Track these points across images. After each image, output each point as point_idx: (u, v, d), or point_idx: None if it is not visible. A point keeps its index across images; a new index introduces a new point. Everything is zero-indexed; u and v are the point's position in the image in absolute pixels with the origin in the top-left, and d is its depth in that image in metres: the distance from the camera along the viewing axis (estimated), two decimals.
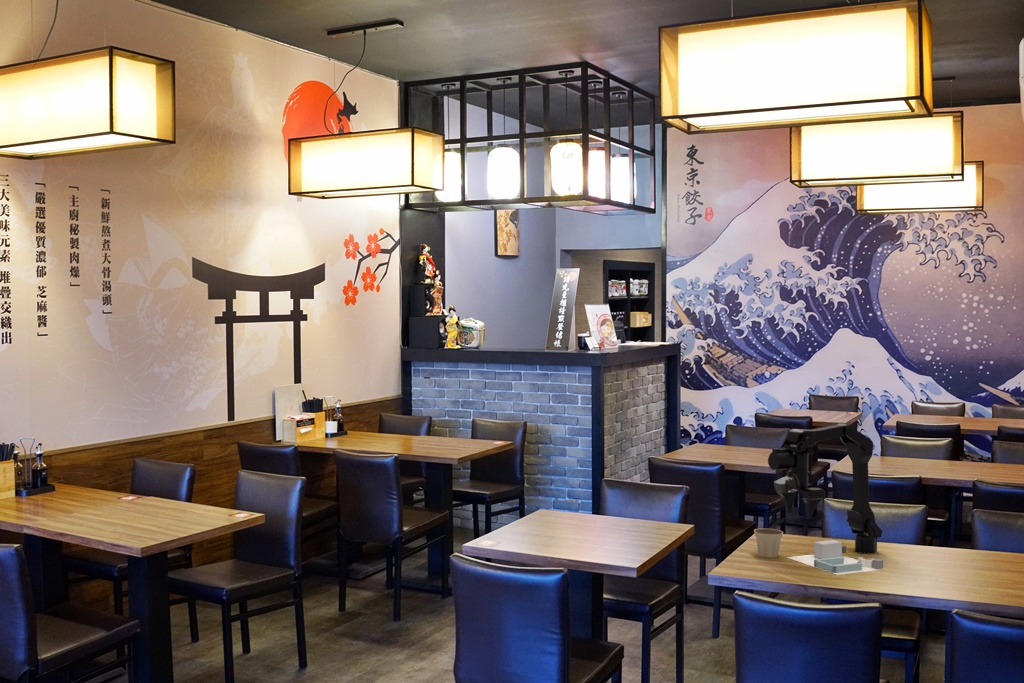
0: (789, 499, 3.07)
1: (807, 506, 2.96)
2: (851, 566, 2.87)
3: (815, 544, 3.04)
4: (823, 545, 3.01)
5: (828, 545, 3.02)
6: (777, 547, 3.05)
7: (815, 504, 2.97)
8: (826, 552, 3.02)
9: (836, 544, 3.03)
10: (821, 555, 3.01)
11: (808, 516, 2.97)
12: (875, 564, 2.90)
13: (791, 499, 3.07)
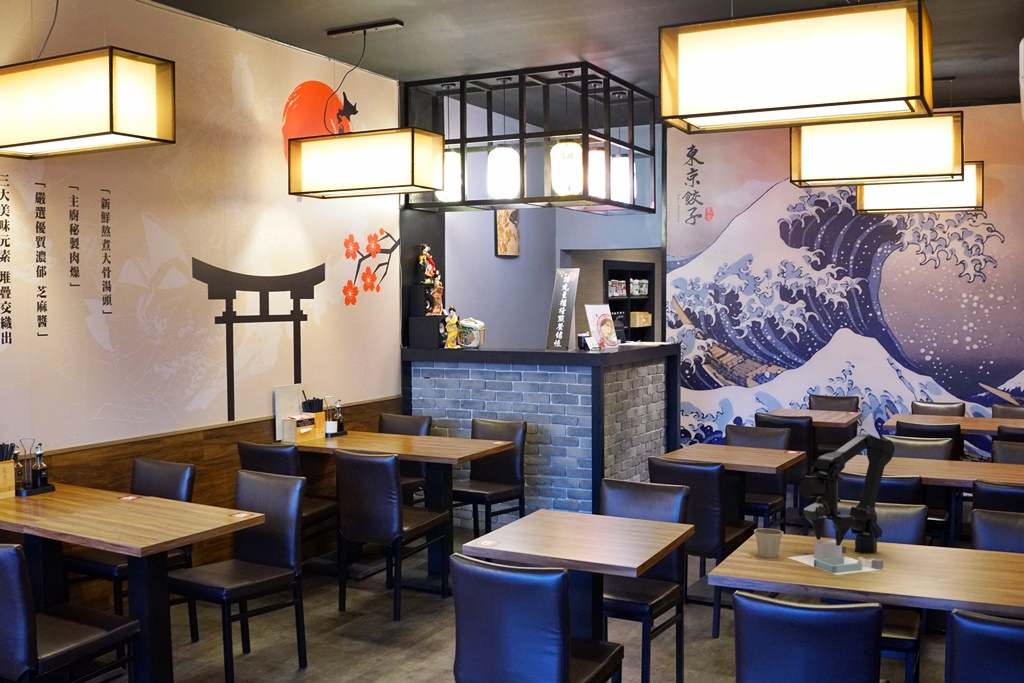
0: (818, 525, 3.09)
1: (837, 533, 2.99)
2: (851, 566, 2.87)
3: (815, 544, 3.04)
4: (823, 545, 3.01)
5: (828, 545, 3.02)
6: (777, 547, 3.05)
7: (845, 531, 2.99)
8: (826, 552, 3.02)
9: None
10: (821, 555, 3.01)
11: (838, 543, 3.00)
12: (875, 564, 2.90)
13: (820, 525, 3.09)
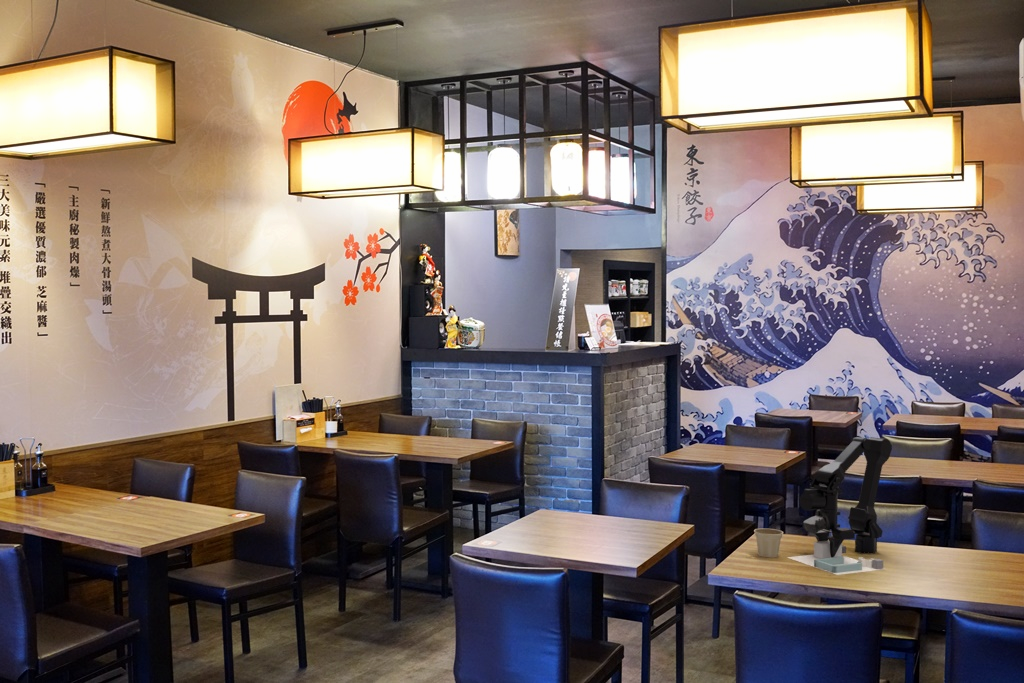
0: (823, 540, 3.07)
1: (831, 544, 3.01)
2: (851, 566, 2.87)
3: (815, 544, 3.04)
4: (823, 545, 3.01)
5: (828, 545, 3.02)
6: (777, 547, 3.05)
7: (839, 542, 3.01)
8: (826, 552, 3.02)
9: None
10: (821, 555, 3.01)
11: (832, 554, 3.02)
12: (875, 564, 2.90)
13: (825, 539, 3.07)
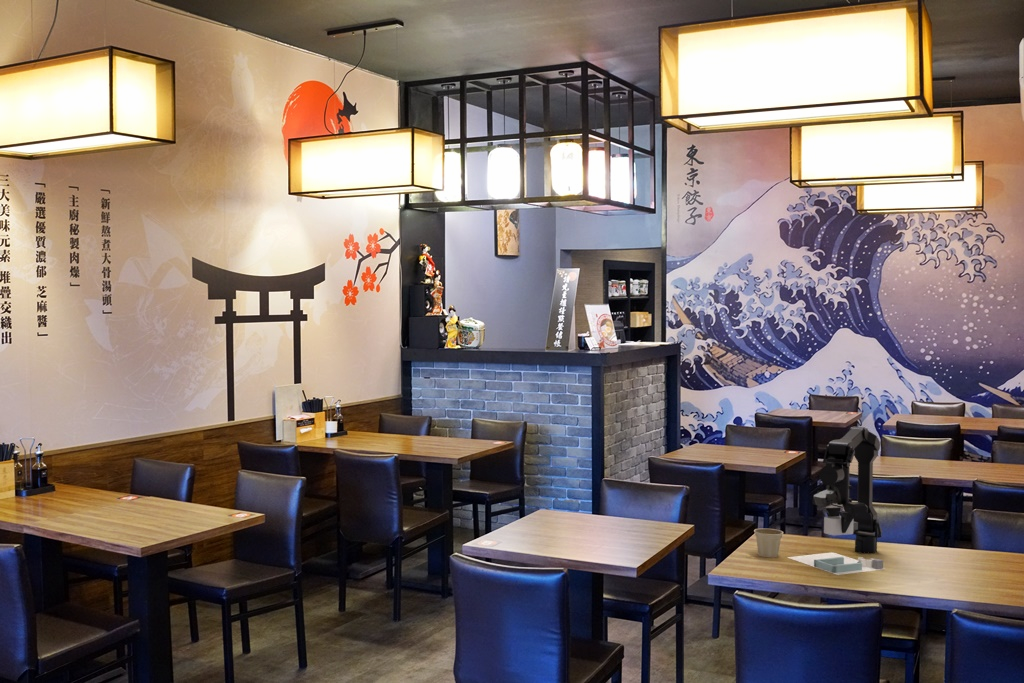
0: (834, 515, 2.94)
1: (843, 520, 2.88)
2: (851, 566, 2.87)
3: (825, 519, 2.91)
4: (834, 520, 2.88)
5: (839, 520, 2.89)
6: (777, 547, 3.05)
7: (851, 518, 2.89)
8: (837, 527, 2.89)
9: None
10: (832, 530, 2.88)
11: (844, 530, 2.89)
12: (875, 564, 2.90)
13: (836, 515, 2.94)
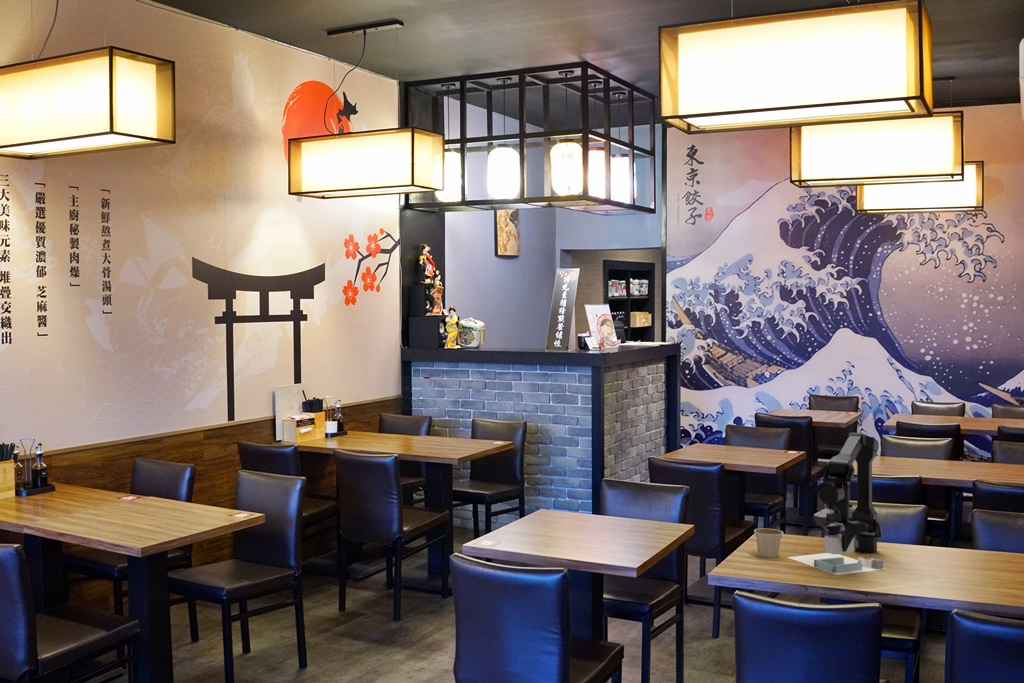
0: (834, 533, 2.94)
1: (843, 538, 2.87)
2: (851, 566, 2.87)
3: (826, 538, 2.91)
4: (834, 539, 2.88)
5: (839, 539, 2.89)
6: (777, 547, 3.05)
7: (851, 536, 2.88)
8: (838, 546, 2.88)
9: None
10: (832, 549, 2.88)
11: (844, 549, 2.89)
12: (875, 564, 2.90)
13: (836, 533, 2.94)
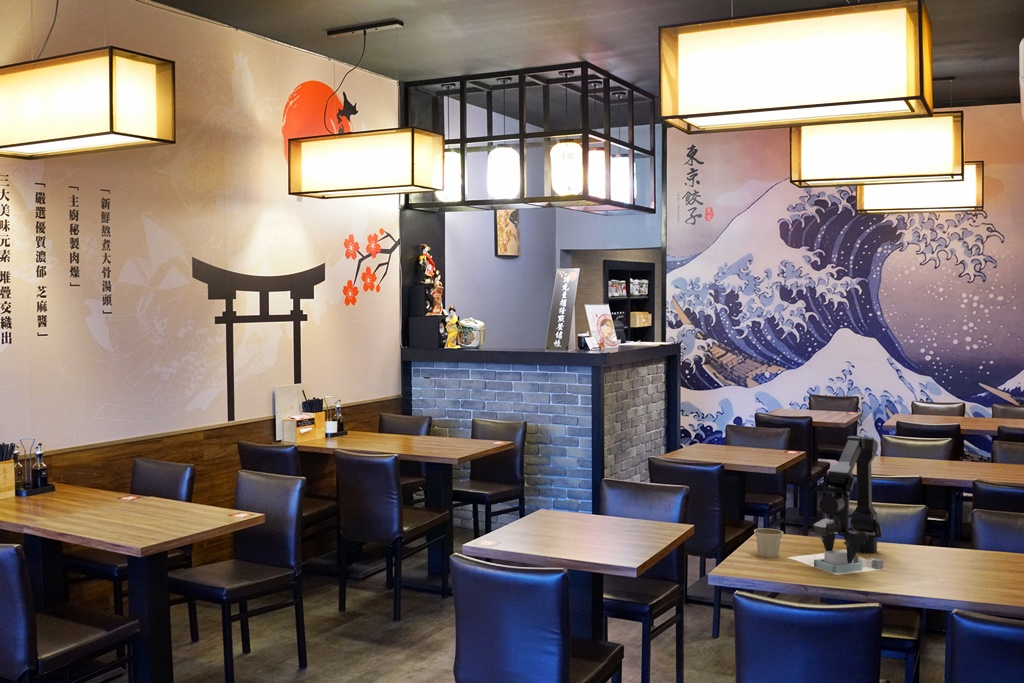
0: (829, 542, 2.96)
1: (848, 550, 2.85)
2: (851, 566, 2.87)
3: (826, 554, 2.91)
4: (834, 555, 2.88)
5: (839, 555, 2.89)
6: (777, 547, 3.05)
7: (857, 548, 2.86)
8: (838, 562, 2.88)
9: None
10: None
11: (849, 560, 2.86)
12: (875, 564, 2.90)
13: (831, 541, 2.96)
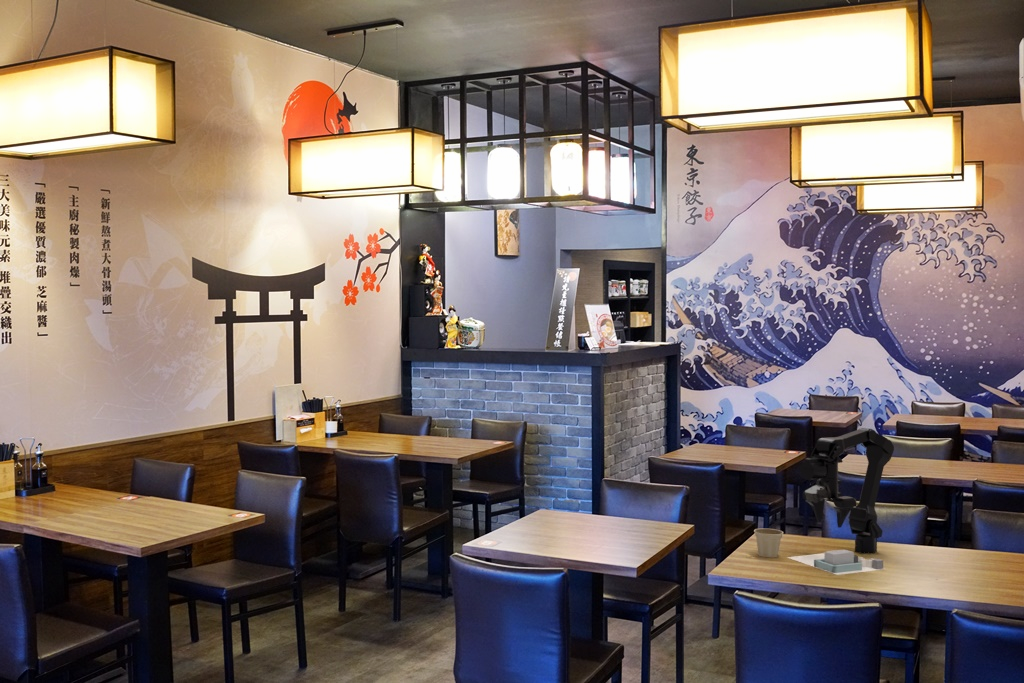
0: (819, 508, 3.08)
1: (838, 515, 2.98)
2: (851, 566, 2.87)
3: (826, 554, 2.91)
4: (834, 555, 2.88)
5: (839, 555, 2.89)
6: (777, 547, 3.05)
7: (846, 512, 2.99)
8: (838, 562, 2.88)
9: (848, 554, 2.90)
10: None
11: (839, 524, 2.99)
12: (875, 564, 2.90)
13: (820, 507, 3.09)
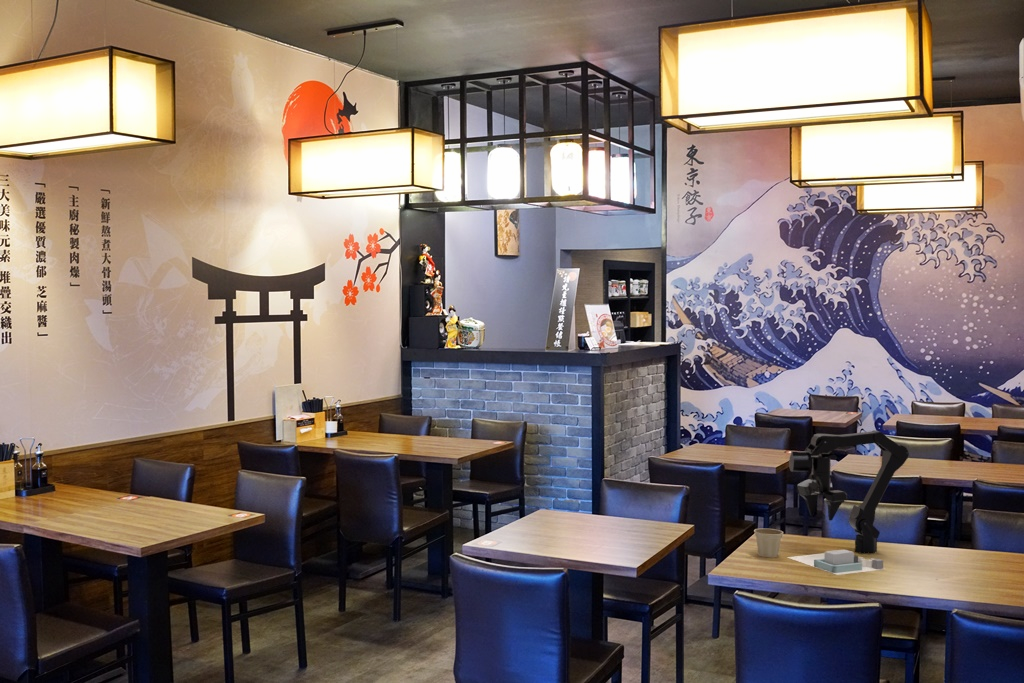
0: (812, 501, 3.18)
1: (829, 508, 3.07)
2: (851, 566, 2.87)
3: (826, 554, 2.91)
4: (834, 555, 2.88)
5: (839, 555, 2.89)
6: (777, 547, 3.05)
7: (837, 506, 3.08)
8: (838, 562, 2.88)
9: (848, 554, 2.90)
10: None
11: (830, 518, 3.08)
12: (875, 564, 2.90)
13: (813, 501, 3.18)
